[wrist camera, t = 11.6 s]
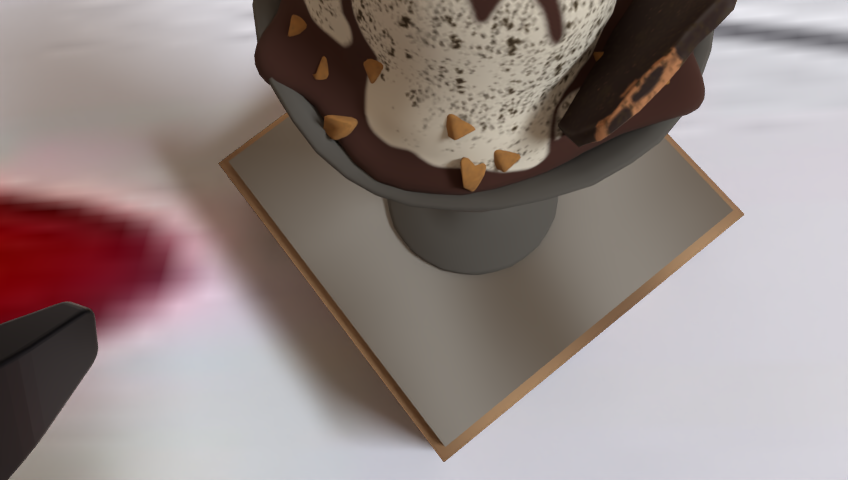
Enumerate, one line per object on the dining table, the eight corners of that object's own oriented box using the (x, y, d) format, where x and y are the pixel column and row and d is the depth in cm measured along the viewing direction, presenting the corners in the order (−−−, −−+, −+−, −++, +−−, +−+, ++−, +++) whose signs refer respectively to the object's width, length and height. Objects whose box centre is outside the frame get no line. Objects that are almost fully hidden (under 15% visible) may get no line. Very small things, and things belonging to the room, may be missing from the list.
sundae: (333, 118, 20) (-2, -589, 6) (549, 62, 20) (772, -791, 6) (384, 331, 19) (108, 121, 4) (617, 271, 19) (1159, -152, 4)
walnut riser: (446, 451, 21) (443, 463, 18) (250, 193, 24) (214, 159, 20) (704, 239, 22) (749, 211, 19) (493, 10, 25) (498, -51, 21)
